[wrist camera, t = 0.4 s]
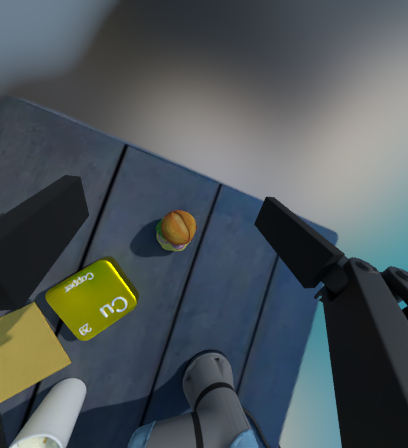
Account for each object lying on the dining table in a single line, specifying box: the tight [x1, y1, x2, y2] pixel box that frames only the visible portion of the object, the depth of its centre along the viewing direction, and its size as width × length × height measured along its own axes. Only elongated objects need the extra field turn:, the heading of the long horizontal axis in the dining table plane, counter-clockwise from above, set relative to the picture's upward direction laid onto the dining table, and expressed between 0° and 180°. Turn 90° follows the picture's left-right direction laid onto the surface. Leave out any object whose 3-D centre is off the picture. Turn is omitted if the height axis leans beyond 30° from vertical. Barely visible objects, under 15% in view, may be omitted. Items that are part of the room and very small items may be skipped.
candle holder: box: [8, 378, 86, 448], centre depth 35 cm, size 10×10×12 cm
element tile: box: [45, 256, 139, 341], centre depth 40 cm, size 15×15×5 cm
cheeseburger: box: [155, 210, 197, 251], centre depth 43 cm, size 10×11×10 cm
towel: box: [0, 302, 71, 403], centre depth 37 cm, size 18×20×1 cm
